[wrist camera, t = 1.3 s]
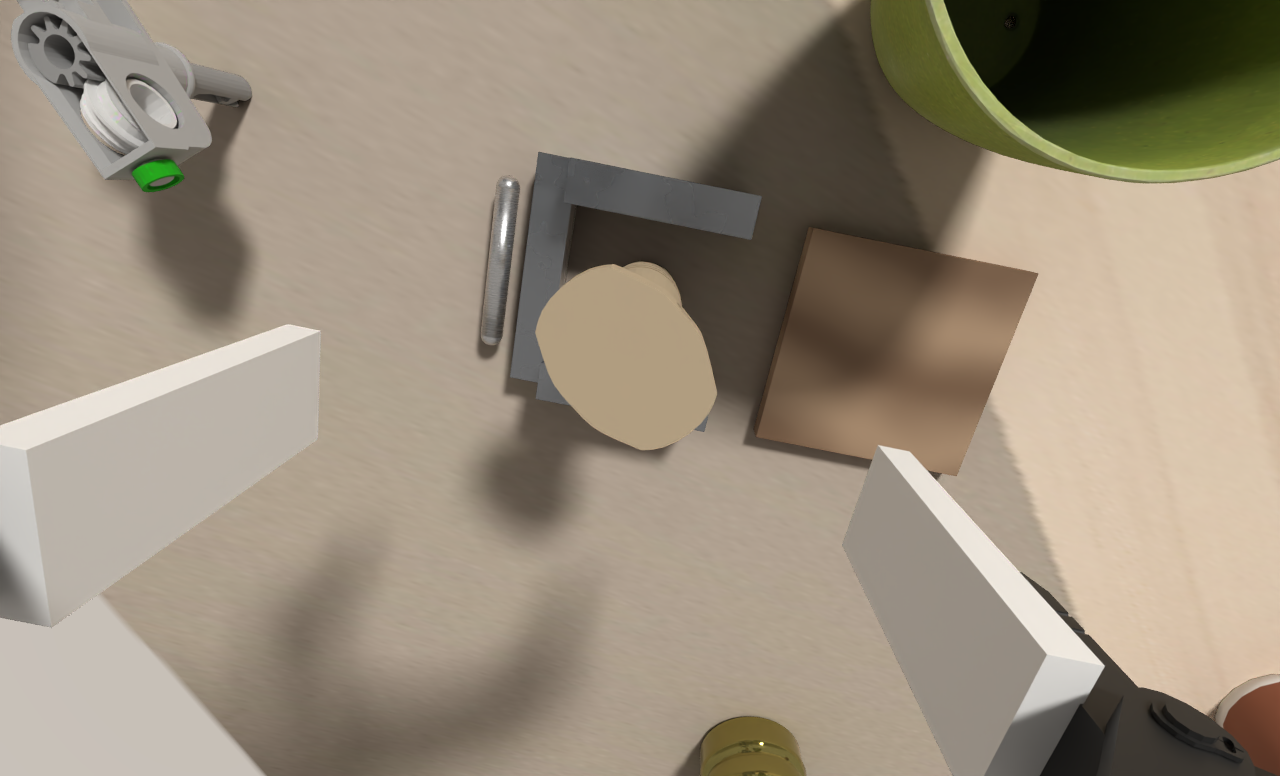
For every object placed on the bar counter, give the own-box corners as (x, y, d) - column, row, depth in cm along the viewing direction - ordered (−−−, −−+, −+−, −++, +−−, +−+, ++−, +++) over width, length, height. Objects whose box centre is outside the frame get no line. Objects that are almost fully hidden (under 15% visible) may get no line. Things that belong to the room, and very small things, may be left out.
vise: (507, 145, 32) (481, 139, 27) (749, 194, 32) (761, 196, 28) (483, 360, 36) (458, 383, 31) (700, 402, 36) (704, 431, 32)
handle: (649, 357, 35) (634, 474, 21) (575, 272, 34) (506, 335, 19) (714, 305, 34) (746, 391, 20) (641, 215, 33) (618, 236, 18)
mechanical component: (197, -25, 30) (-23, -123, 20) (316, 171, 33) (171, 165, 23) (152, 6, 30) (-82, -76, 21) (273, 196, 33) (114, 200, 24)
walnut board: (809, 226, 32) (813, 228, 31) (1025, 270, 32) (1038, 273, 31) (753, 429, 36) (756, 437, 35) (947, 467, 36) (956, 476, 35)
